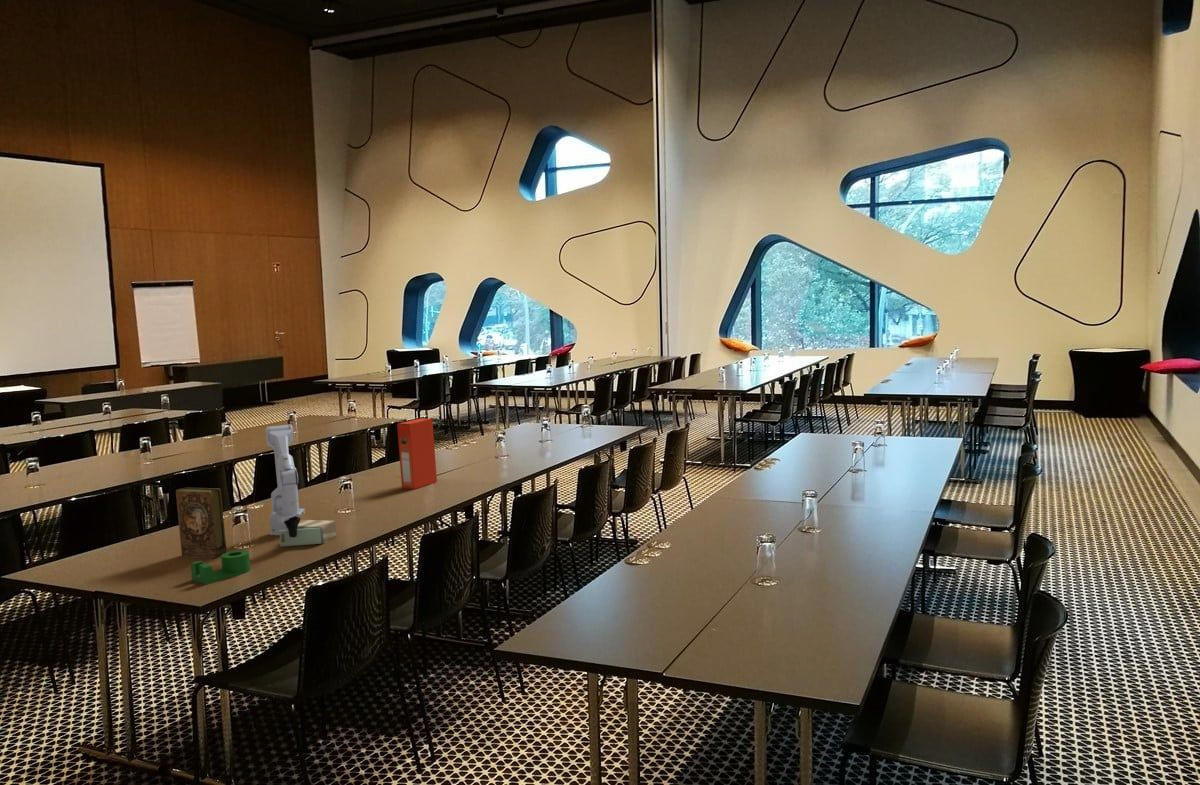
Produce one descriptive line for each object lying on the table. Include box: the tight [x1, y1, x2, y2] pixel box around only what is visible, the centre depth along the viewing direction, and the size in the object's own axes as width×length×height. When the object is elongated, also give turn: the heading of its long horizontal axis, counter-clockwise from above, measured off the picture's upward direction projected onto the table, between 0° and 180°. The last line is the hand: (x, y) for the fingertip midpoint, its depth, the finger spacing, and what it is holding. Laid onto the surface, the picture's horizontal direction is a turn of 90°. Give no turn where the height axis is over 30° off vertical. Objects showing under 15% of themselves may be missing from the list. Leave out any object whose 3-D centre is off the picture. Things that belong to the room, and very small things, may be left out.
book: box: [175, 487, 227, 559], centre depth 327 cm, size 16×6×25 cm, turn 74°
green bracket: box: [190, 549, 251, 586], centre depth 303 cm, size 18×9×6 cm, turn 142°
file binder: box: [396, 418, 438, 490], centre depth 434 cm, size 8×17×32 cm, turn 152°
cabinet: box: [286, 519, 337, 545], centre depth 343 cm, size 16×9×6 cm, turn 75°
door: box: [278, 527, 323, 547], centre depth 335 cm, size 16×2×6 cm, turn 96°
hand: (293, 536), depth 334 cm, fingers closed
